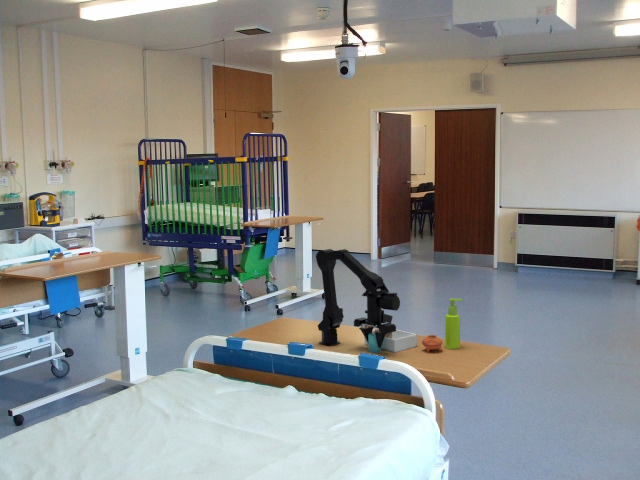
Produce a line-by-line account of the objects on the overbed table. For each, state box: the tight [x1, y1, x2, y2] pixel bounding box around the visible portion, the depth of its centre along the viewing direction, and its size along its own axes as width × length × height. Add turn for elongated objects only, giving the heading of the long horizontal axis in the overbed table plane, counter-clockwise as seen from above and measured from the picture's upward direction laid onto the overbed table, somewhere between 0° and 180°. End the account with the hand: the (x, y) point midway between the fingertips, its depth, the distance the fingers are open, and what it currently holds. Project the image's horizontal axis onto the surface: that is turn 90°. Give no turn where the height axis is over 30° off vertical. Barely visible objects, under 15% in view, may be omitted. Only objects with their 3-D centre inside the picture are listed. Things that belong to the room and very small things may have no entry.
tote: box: [363, 329, 418, 353], centre depth 266 cm, size 17×13×5 cm
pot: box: [421, 334, 443, 353], centre depth 257 cm, size 8×8×7 cm
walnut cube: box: [374, 328, 392, 339], centre depth 269 cm, size 5×5×5 cm
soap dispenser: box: [444, 297, 463, 350], centre depth 260 cm, size 6×7×20 cm
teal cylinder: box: [367, 333, 382, 354], centre depth 257 cm, size 5×5×7 cm
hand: (374, 346), depth 257 cm, fingers open, 5 cm apart
